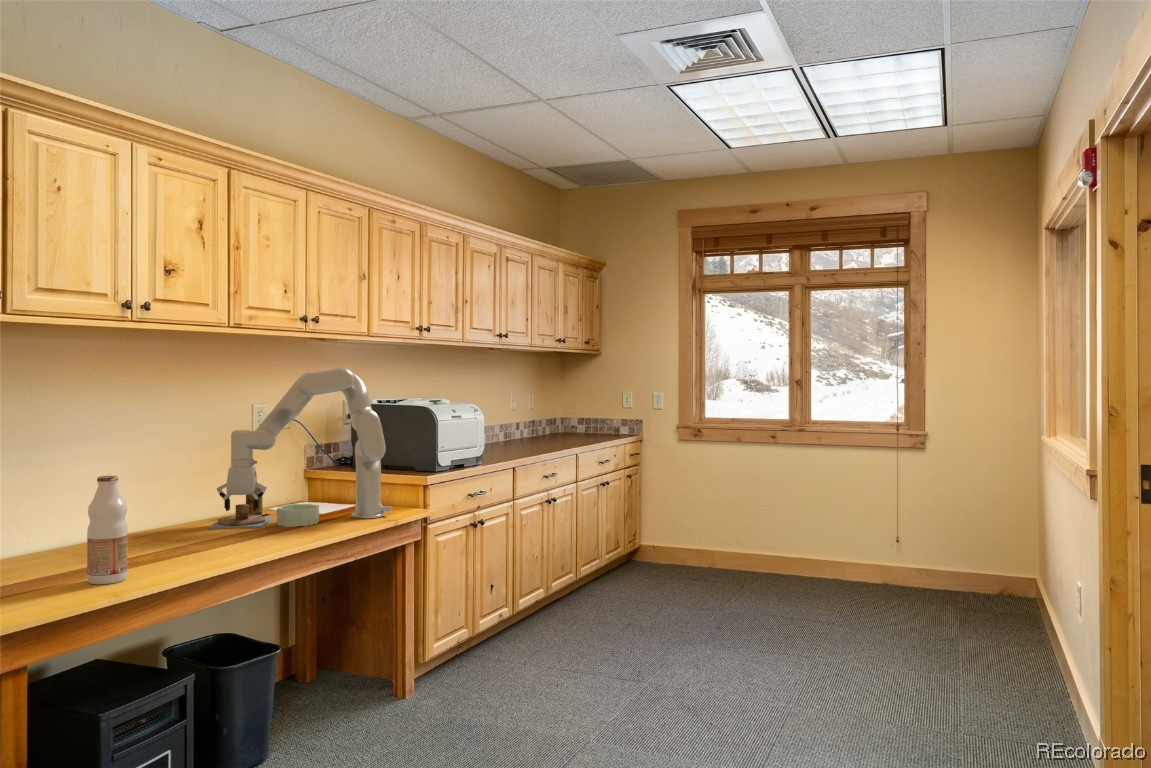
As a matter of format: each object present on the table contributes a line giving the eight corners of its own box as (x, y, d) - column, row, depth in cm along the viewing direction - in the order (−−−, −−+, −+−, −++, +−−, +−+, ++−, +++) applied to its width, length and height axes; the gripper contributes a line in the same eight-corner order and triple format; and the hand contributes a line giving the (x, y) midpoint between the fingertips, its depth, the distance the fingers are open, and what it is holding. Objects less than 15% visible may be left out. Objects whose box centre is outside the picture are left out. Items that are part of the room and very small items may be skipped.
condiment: (240, 516, 320) (240, 485, 320) (256, 513, 328) (256, 483, 328) (255, 518, 318) (256, 486, 318) (271, 514, 326) (271, 484, 326)
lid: (269, 517, 314) (269, 501, 314) (259, 525, 298) (259, 508, 298) (224, 518, 312) (225, 501, 312) (212, 526, 296) (212, 509, 296)
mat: (272, 519, 315) (272, 517, 315) (261, 528, 298) (261, 526, 298) (222, 520, 313) (222, 517, 313) (208, 529, 295) (208, 526, 295)
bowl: (320, 519, 316) (320, 503, 316) (314, 526, 302) (314, 509, 302) (282, 520, 314) (282, 504, 314) (274, 527, 300) (274, 510, 300)
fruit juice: (91, 587, 216) (92, 479, 216) (83, 580, 223) (83, 476, 223) (131, 581, 223) (132, 476, 222) (121, 574, 230) (122, 473, 229)
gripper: (268, 462, 310) (268, 508, 310) (220, 462, 307) (219, 508, 308) (264, 464, 302) (264, 511, 303) (214, 464, 300) (214, 512, 300)
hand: (241, 510), depth 305 cm, fingers open, 9 cm apart
